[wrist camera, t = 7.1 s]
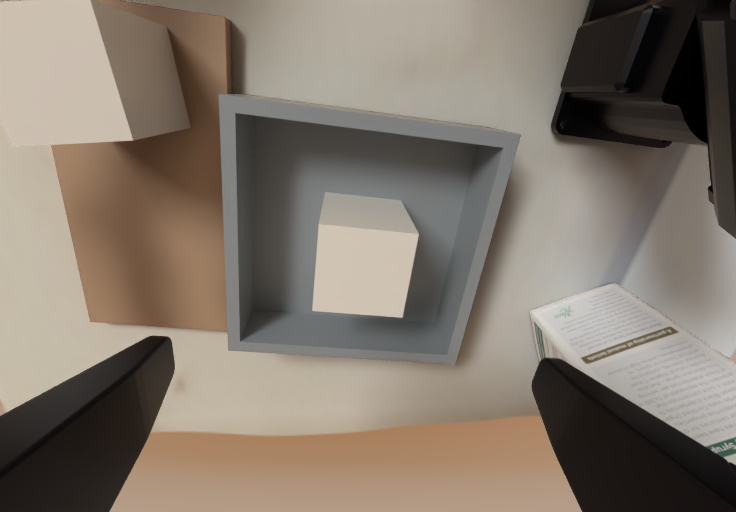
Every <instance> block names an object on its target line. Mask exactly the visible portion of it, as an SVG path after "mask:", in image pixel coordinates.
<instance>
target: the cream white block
mask: <svg viewBox="0 0 736 512" xmlns="http://www.w3.org/2000/svg"><path fill="white" fill-rule="evenodd" d="M0 123H1V125H2V128H3V130H4V132H5V134H6V137H7V139H8V141H9V144H10V146H11V147H24V146H42V145H60V144H78V143H96V142H115V141H133V140H138V139H142V138H147V137H151V136H156V135H160V134H165V133H170V132H174V131H179V130H183V129H188V128H191V126H190V122H189V118H188V114H187V110H186V105H185V101H184V97H183V93H182V89H181V84H180V80H179V76H178V72H177V68H176V63H175V59H174V55H173V51H172V47H171V42H170V38H169V34H168V30H167V27H166V26H163V25H161V24H158V23H155V22H153V21H150V20H147V19H145V18H142V17H139V16H137V15H134V14H131V13H129V12H126V11H124V10H121V9H118V8H116V7H113V6H110V5H108V4H105V3H102V2H100V1H97V0H20V1H0Z"/></svg>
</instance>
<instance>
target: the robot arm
mask: <svg viewBox="0 0 736 512" xmlns="http://www.w3.org/2000/svg"><path fill="white" fill-rule="evenodd" d="M561 89H562V91H561V94H560V97H559V101H558V104H557V107H556V110H555V113H554V116H553V120H552V124H551V127H552V130H553V131H554V132H555V133H557V134H562V135H569V136H577V137H584V138H591V139H599V140H606V141H613V142H621V143H628V144H635V145H643V146H650V147H657V148H665V147H667V146H669V145H670V144H671V143H672V142H680V143H687V144H694V145H701V146H708V157H709V168H710V180H711V186H709V187H708V196H709V201H710V202H711V203H712V204H714V208H715V213H716V217H717V220H718V224H719V226H721V227H722V228H723V229H724V230H726V231H727V232H728V233H729V234H731V235H732V236H733V237H734V238H736V0H590V2H589V5H588V8H587V12H586V15H585V18H584V21H583V24H582V26H581V27H580V28H579V29H578V31H577V34H576V37H575V40H574V44H573V47H572V50H571V53H570V56H569V60H568V63H567V66H566V69H565V72H564V76H563V79H562V82H561ZM564 119H565V120H566V124H565V126H564V127H563V128H561V127H560V123H561V122H562V120H564ZM660 140H661V141H660ZM174 370H175V363H174V355H173V347H172V341H171V339H170V338H169V337H166V336H149V337H147V338H145V339H143V340H141V341H139V342H138V343H136V344H134V345H132V346H130V347H128V348H126V349H124V350H123V351H121V352H119V353H117V354H115V355H113V356H111V357H110V358H108V359H106V360H104V361H102V362H100V363H98V364H96V365H95V366H93V367H91V368H89V369H87V370H85V371H83V372H81V373H80V374H78V375H76V376H74V377H72V378H70V379H68V380H67V381H65V382H63V383H61V384H59V385H57V386H55V387H53V388H52V389H50V390H48V391H46V392H44V393H42V394H40V395H39V396H37V397H35V398H33V399H31V400H29V401H27V402H25V403H24V404H22V405H20V406H18V407H16V408H14V409H12V410H10V411H9V412H7V413H5V414H3V415H1V416H0V512H109V511H110V509H111V508H112V506H113V504H114V502H115V500H116V498H117V496H118V494H119V492H120V491H121V489H122V487H123V485H124V483H125V481H126V479H127V477H128V475H129V474H130V472H131V470H132V468H133V466H134V464H135V462H136V460H137V458H138V457H139V455H140V453H141V451H142V449H143V447H144V445H145V443H146V441H147V439H148V437H149V434H150V432H151V430H152V427H153V425H154V422H155V420H156V417H157V415H158V412H159V410H160V407H161V405H162V402H163V400H164V397H165V395H166V392H167V390H168V387H169V385H170V382H171V380H172V377H173V374H174ZM532 392H533V395H534V398H535V400H536V403H537V406H538V409H539V411H540V414H541V417H542V419H543V423H544V425H545V428H546V431H547V434H548V436H549V439H550V442H551V445H552V447H553V450H554V452H555V454H556V457H557V459H558V461H559V463H560V465H561V467H562V469H563V471H564V474H565V476H566V478H567V480H568V482H569V485H570V487H571V489H572V491H573V493H574V495H575V497H576V499H577V502H578V504H579V506H580V508H581V510H582V512H736V465H735V464H733V463H731V462H728V461H727V460H726V459H725V458H723V457H722V456H720V455H718V454H717V453H715V452H713V451H712V450H710V449H708V448H707V447H705V446H704V445H702V444H700V443H699V442H697V441H695V440H694V439H692V438H690V437H689V436H687V435H685V434H684V433H682V432H680V431H679V430H677V429H676V428H674V427H672V426H671V425H669V424H667V423H666V422H664V421H662V420H661V419H659V418H657V417H656V416H654V415H652V414H651V413H649V412H648V411H646V410H644V409H643V408H641V407H639V406H638V405H636V404H634V403H633V402H631V401H629V400H628V399H626V398H624V397H623V396H621V395H620V394H618V393H616V392H615V391H613V390H611V389H610V388H608V387H606V386H605V385H603V384H601V383H600V382H598V381H597V380H595V379H593V378H592V377H590V376H588V375H587V374H585V373H583V372H582V371H580V370H578V369H577V368H575V367H573V366H572V365H570V364H569V363H567V362H565V361H564V360H562V359H559V358H549V357H545V358H543V359H542V360H541V361H540V363H539V365H538V368H537V370H536V373H535V376H534V378H533V381H532Z"/></svg>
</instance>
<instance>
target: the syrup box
mask: <svg viewBox="0 0 736 512" xmlns="http://www.w3.org/2000/svg"><path fill="white" fill-rule="evenodd" d="M530 317H531V321H532V327H533V334H534V339H535V344H536V349H537V353H538V358H539V362H540V361H541V360H542V359H543V358H545V357H549V358H559V359H562V360H564V361H565V362H567V363H569V364H570V365H572V366H573V367H575V368H577V369H578V370H580V371H582V372H583V373H585V374H587V375H588V376H590V377H592V378H593V379H595V380H597V381H598V382H600V383H601V384H603V385H605V386H606V387H608V388H610V389H611V390H613V391H615V392H616V393H618V394H620V395H621V396H623V397H624V398H626V399H628V400H629V401H631V402H633V403H634V404H636V405H638V406H639V407H641V408H643V409H644V410H646V411H648V412H649V413H651V414H652V415H654V416H656V417H657V418H659V419H661V420H662V421H664V422H666V423H667V424H669V425H671V426H672V427H674V428H676V429H677V430H679V431H680V432H682V433H684V434H685V435H687V436H689V437H690V438H692V439H694V440H695V441H697V442H699V443H700V444H702V445H704V446H705V447H707V448H708V449H710V450H712V451H713V452H715V453H717V454H718V455H720V456H722V457H723V458H725V459H726V460H727V461H728V462H731V463H733V464H735V465H736V363H735V362H733V361H732V360H731V359H729V358H728V357H726V356H724V355H723V354H721V353H720V352H718V351H717V350H715V349H714V348H712V347H711V346H709V345H708V344H706V343H705V342H703V341H702V340H700V339H699V338H697V337H696V336H694V335H693V334H691V333H690V332H688V331H687V330H685V329H684V328H682V327H681V326H679V325H678V324H676V323H675V322H673V321H672V320H670V319H669V318H667V317H666V316H664V315H663V314H661V313H660V312H659V311H657V310H655V309H654V308H653V307H651V306H650V305H648V304H647V303H645V302H643V301H642V300H640V299H639V298H638V297H636V296H635V295H633V294H632V293H630V292H629V291H627V290H626V289H624V288H623V287H621V286H619V285H618V284H615V283H612V284H608V285H605V286H602V287H598V288H595V289H591V290H588V291H585V292H582V293H579V294H577V295H574V296H571V297H568V298H565V299H562V300H559V301H556V302H554V303H551V304H548V305H545V306H542V307H539V308H537V309H534V310H531V311H530Z"/></svg>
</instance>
